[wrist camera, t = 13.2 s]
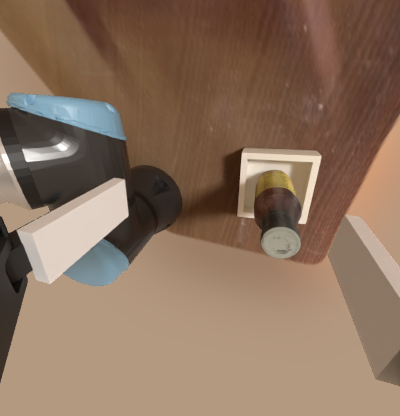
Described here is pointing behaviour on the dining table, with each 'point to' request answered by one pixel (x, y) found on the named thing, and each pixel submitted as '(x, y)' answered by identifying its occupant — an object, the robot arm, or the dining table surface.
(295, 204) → the sauce bottle
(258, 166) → the square white tray
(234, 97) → the dining table surface
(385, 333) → the robot arm
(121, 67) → the dining table surface
